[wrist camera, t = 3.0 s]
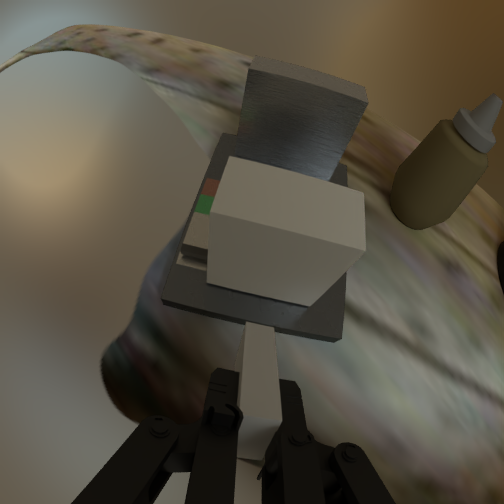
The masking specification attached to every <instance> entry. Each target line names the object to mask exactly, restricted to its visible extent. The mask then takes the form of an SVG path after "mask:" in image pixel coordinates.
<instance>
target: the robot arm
mask: <svg viewBox="0 0 504 504" xmlns="http://www.w3.org/2000/svg"><path fill="white" fill-rule="evenodd" d="M498 269H499V275H500V280H501V284H502V287H503V291H504V241H503V242H502V243H501V245H500V247H499V250H498ZM301 398H302V396H301V390H300V388H299V387H298V385H297V384H296V382H295V381H290V380H283V379H279V375H278V364H277V353H276V342H275V331H274V327H269V326H264V325H260V324H255V323H250V322H246V324H245V327H244V331H243V335H242V338H241V342H240V346H239V349H238V353H237V356H236V360H235V366H234V371H231V370H226V369H222V368H217V369H216V370H215V371H214V372H213V373H212V374H211V378H210V382H209V387H208V391H207V395H206V400H205V405H204V410H203V414H202V417H201V418H200V419H199V420H198V421H196V422H194V423H191V424H176V423H175V422H174V421H172V420H171V419H169V418H168V417H164V416H161V415H153V416H149V417H147V418H145V419H144V420H143V421H142V422H141V423H140V424H139V425H138V427H137V428H136V429H135V430H134V431H133V433H132V434H131V435H130V436H129V438H128V439H127V440H126V441H125V442H124V443H123V444H122V446H121V447H120V448H119V449H118V450H117V451H116V453H115V454H114V455H113V456H112V457H111V458H110V460H109V461H108V462H107V463H106V464H105V465H104V467H103V468H102V469H101V470H100V471H99V472H98V473H97V475H96V476H95V477H94V478H93V479H92V481H91V482H90V483H89V484H88V485H87V486H86V488H84V489H83V491H82V492H81V493H80V494H79V495H78V496H77V497H76V499H75V500H74V501H73V502H72V503H71V504H153V503H154V501H155V500H156V498H157V497H158V495H159V494H160V492H161V491H162V489H163V487H164V486H165V484H166V483H167V481H168V480H169V478H170V476H171V475H172V473H173V472H191V473H190V478H189V483H188V489H187V494H186V499H185V504H234V489H235V474H236V460H237V457H239V458H246V459H253V460H262V459H263V457H264V455H265V464H264V466H263V468H262V470H261V471H260V473H259V475H258V477H257V480H260V478H261V477H262V504H396V503H395V502H394V500H393V498H392V497H391V495H390V493H389V492H388V490H387V489H386V487H385V485H384V484H383V482H382V480H381V479H380V477H379V475H378V474H377V472H376V471H375V469H374V467H373V466H372V464H371V462H370V461H369V459H368V457H367V456H366V454H365V452H364V451H363V450H362V449H361V448H360V447H359V446H357V445H356V444H353V443H349V442H348V443H341V444H338V445H337V447H336V448H334V447H330V446H327V445H324V444H321V443H319V442H317V441H316V440H315V439H314V437H313V435H312V434H311V433H310V432H309V431H308V430H307V426H306V420H305V414H304V408H303V402H302V399H301Z"/></svg>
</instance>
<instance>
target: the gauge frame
mask: <svg viewBox="0 0 504 504" xmlns="http://www.w3.org/2000/svg"><path fill="white" fill-rule="evenodd" d="M367 105H368V99H367V95H366V91H365V87H363V86H360V85H358V84H355V83H352V82H350V81H347V80H344V79H340V78H338V77H335V76H332V75H329V74H326V73H322V72H319V71H316V70H312V69H309V68H305V67H302V66H298V65H294V64H290V63H286V62H282V61H278V60H274V59H269V58H265V57H260V56H255V57H254V59H253V61H252V63H251V65H250V67H249V69H248V75H247V81H246V86H245V92H244V98H243V104H242V110H241V116H240V122H239V128H238V135H237V136H236V135H231V134H226V133H222V136H221V138H220V140H219V143H218V145H217V147H216V150H215V152H214V154H213V157H212V159H211V162H210V164H209V167H208V169H207V172H206V174H205V177H204V179H203V181H202V184H201V187H200V189H199V192H198V194H197V197H196V199H195V202H194V205H193V207H192V210H191V213H190V215H189V218H188V221H187V223H186V226H185V229H184V232H183V234H182V237H181V240H180V243H179V246H178V248H177V251H176V254H175V257H174V260H173V263H172V266H171V269H170V272H169V275H168V278H167V281H166V284H165V287H164V290H163V293H162V296H161V300H162V302H163V305H167V306H170V307H174V308H178V309H181V310H185V311H189V312H193V313H197V314H201V315H204V316H208V317H213V318H217V319H221V320H225V321H229V322H233V323H238V324H242V325H245V324H246V322H250V323H255V324H260V325H264V326H269V327H274V331H275V332H279V333H284V334H289V335H294V336H300V337H305V338H310V339H316V340H321V341H327V342H333V343H334V342H336V341H338V340H340V339H342V331H343V319H344V306H345V290H346V272H345V273H344V274H343V275H342V276H341V277H340V278H339V279H338V280H337V281H336V282H335V283H334V284H333V285H332V286H331V287H330V288H329V289H328V290H327V291H326V292H325V293H324V294H323V295H322V296H321V297H320V298H319V299H318V300H316V301H315V302H314V303H313V304H312V305H311V306H305V305H301V304H296V303H292V302H287V301H283V300H278V299H274V298H269V297H265V296H260V295H256V294H252V293H247V292H243V291H239V290H235V289H231V288H226V287H222V286H218V285H214V284H210V283H207V260H204V259H200V258H196V257H192V256H188V255H184V254H181V251H180V250H181V247H182V244H183V243H184V244H188V245H192V246H196V247H200V248H204V249H208V238H209V219H210V210H211V207H212V204H213V201H214V198H215V195H216V192H217V189H218V186H219V184H220V181H221V178H222V175H223V172H224V169H225V167H226V164H227V161H228V158H229V156H232V157H237V158H241V159H245V160H250V161H254V162H258V163H262V164H266V165H270V166H274V167H278V168H282V169H285V170H289V171H293V172H297V173H300V174H304V175H307V176H311V177H314V178H318V179H321V180H325V181H328V182H331V183H335V184H338V185H341V186H344V187H347V166H346V165H343V164H340V163H338V162H339V160H340V159H341V157H342V155H343V153H344V151H345V149H346V147H347V145H348V143H349V141H350V139H351V137H352V135H353V133H354V131H355V129H356V127H357V125H358V123H359V121H360V119H361V117H362V115H363V113H364V111H365V109H366V107H367Z"/></svg>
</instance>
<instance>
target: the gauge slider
mask: <svg viewBox="0 0 504 504" xmlns="http://www.w3.org/2000/svg"><path fill="white" fill-rule="evenodd" d="M180 251H181V254H184V255H188V256H192V257H196V258H200V259H204V260H207V283H210V284H214V285H218V286H222V287H226V288H231V289H235V290H239V291H243V292H247V293H252V294H256V295H260V296H265V297H269V298H274V299H278V300H283V301H287V302H292V303H296V304H301V305H305V306H311V305H312V304H313V303H314V302H315V301H316V300H318V299H319V298H320V297H321V296H322V295H323V294H324V293H325V292H326V291H327V290H328V289H329V288H330V287H331V286H332V285H333V284H334V283H335V282H336V281H337V280H338V279H339V278H340V277H341V276H342V275H343V274H344V273H345V272H346V271H347V270H348V269H349V268H350V267H351V266H352V265H353V264H354V263H355V262H356V261H357V260H358V259H359V258H360V257H361V256H362V255H363V254H364V253H365V252H366V232H365V206H364V193H363V192H360V191H357V190H354V189H351V188H347V187H344V186H341V185H338V184H335V183H331V182H328V181H325V180H321V179H318V178H314V177H311V176H307V175H304V174H300V173H297V172H293V171H289V170H285V169H282V168H278V167H274V166H270V165H266V164H262V163H258V162H254V161H250V160H245V159H241V158H237V157H232V156H229V158H228V161H227V164H226V167H225V169H224V172H223V175H222V178H221V181H220V184H219V186H218V189H217V192H216V195H215V198H214V201H213V204H212V207H211V210H210V219H209V238H208V249H204V248H200V247H196V246H192V245H188V244H184V243H183V244H182V247H181V250H180Z"/></svg>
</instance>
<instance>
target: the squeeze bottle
mask: <svg viewBox="0 0 504 504" xmlns="http://www.w3.org/2000/svg"><path fill="white" fill-rule="evenodd" d="M502 103H503V102H502V100H501V99H500V98H499V97H498V96H497V95H495V94H494V93H493V94H492V95H490V96H489V97H488V98H487V99H486V100H485V101H483V102H482V103H481V104H480V105H479V106H478V107H477V108H475V109H474V110H473V111H472V112H471V111H469V110H467V109H465V108H460V109H459V111H458V112H457V114H456V115H455V117H454V118H453V121H452V120H440V122H439V123H438V124H437V125H436V126H435V127H434V129H433V130H432V131H431V132H430V133H429V134H428V135H427V137H426V138H425V139H424V140H423V141H422V142H421V143H420V144H419V145H418V147H417V148H416V149H415V150H414V151H413V152H412V153H411V154H410V155H409V157H408V158H407V159H406V160H405V161H404V162H403V163H402V164H401V165H400V166H399V168H398V170H397V172H396V175H395V179H394V183H393V186H392V190H391V194H390V205H391V207H392V209H393V212H394V213H395V215H396V216H397V217H398V218H399V220H400V221H401V222H403V223H404V224H405V225H406V226H408V227H410V228H413V229H415V230H422V229H425V228H428V227H431V226H433V225H436V224H439V223H442V222H444V221H445V220H447V219H448V218H449V217H450V216H451V215H452V214H453V213H454V211H455V210H456V209H457V208H458V206H459V205H460V204H461V202H462V201H463V200H464V199H465V197H466V196H467V195H468V193H469V192H470V191H471V189H472V188H473V187H474V185H475V184H476V183H477V181H478V180H479V179H480V177H481V176H482V174H483V173H484V172H485V170H486V169H487V167H488V158H487V154H486V153H487V152H489V151H490V149H491V148H492V147H493V146H494V144H495V143H496V139H495V137H494V135H493V133H492V131H491V130H492V127H493V125H494V123H495V120H496V118H497V115H498V113H499V110H500V108H501V105H502Z"/></svg>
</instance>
